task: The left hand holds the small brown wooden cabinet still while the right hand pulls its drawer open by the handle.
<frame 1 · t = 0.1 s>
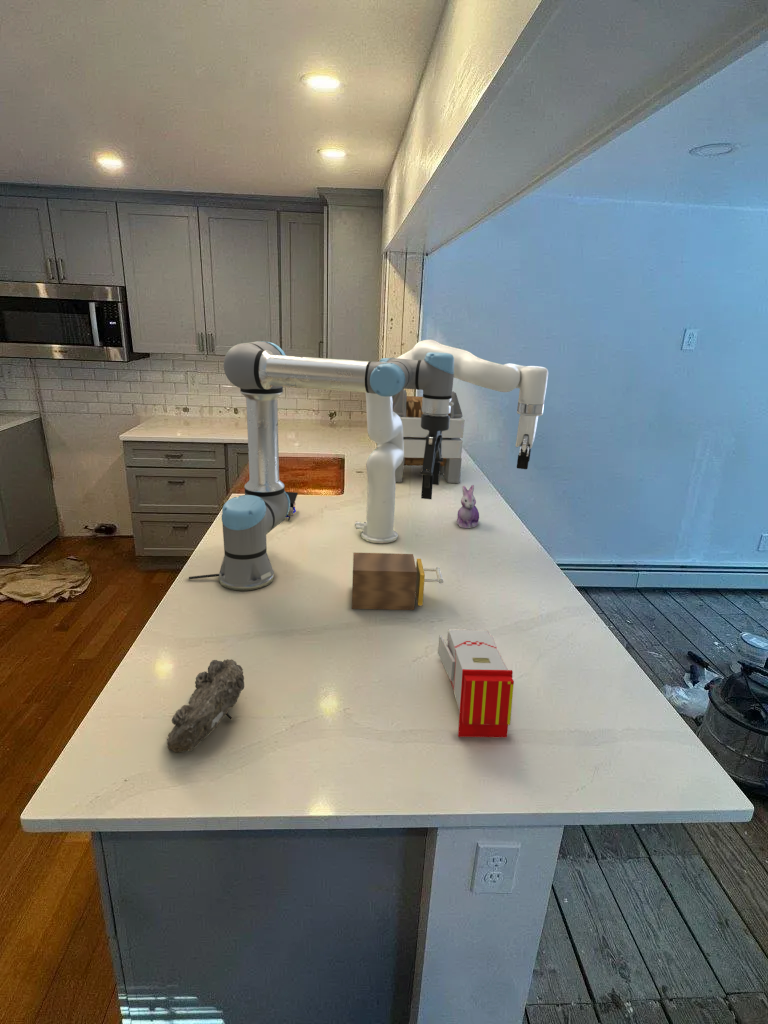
left hand: (430, 491, 156), 28 cm above the counter, tool pointing down, fingers open, 13 cm apart
right hand: (523, 464, 174), 31 cm above the counter, tool pointing down, fingers open, 9 cm apart
cabinet: (382, 599, 155), on the counter
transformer: (419, 473, 275), on the counter
toy: (469, 691, 119), on the counter
fossil: (212, 717, 108), on the counter
figurine character: (287, 516, 212), on the counter
drawer: (403, 581, 153), point 6 cm above the counter, slide at 1.0 cm
figurine: (467, 524, 211), on the counter
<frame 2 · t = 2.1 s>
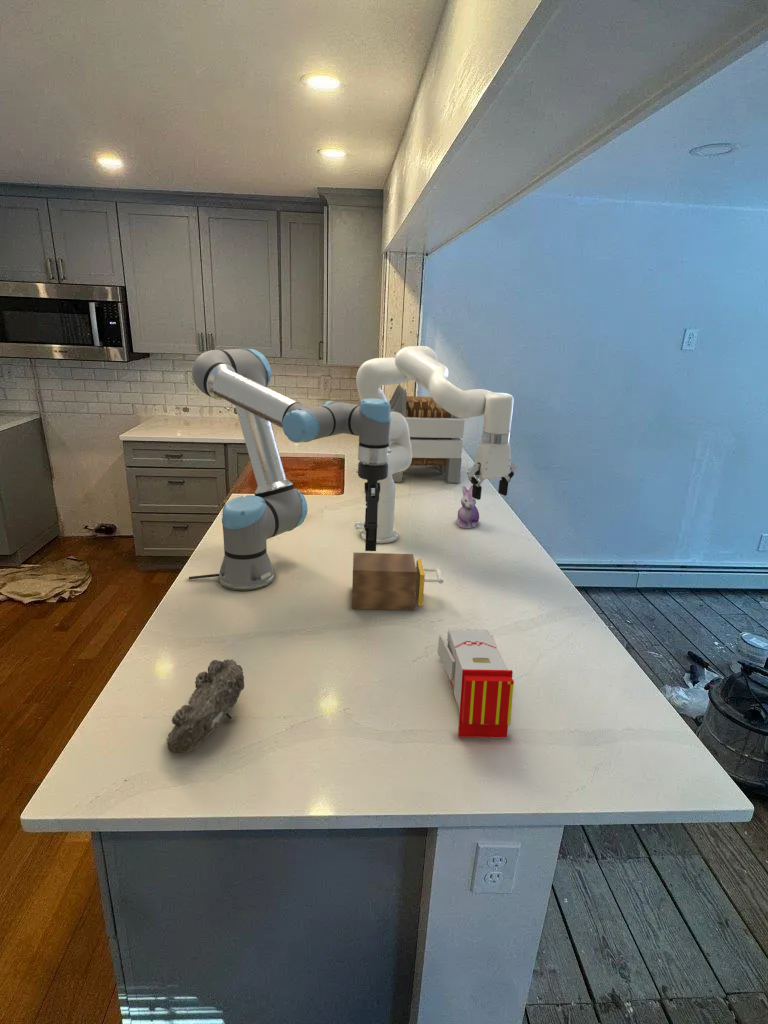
left hand: (370, 540, 149), 17 cm above the counter, tool pointing down, fingers open, 13 cm apart
right hand: (489, 496, 164), 25 cm above the counter, tool pointing down, fingers open, 9 cm apart
nothing on the counter moved.
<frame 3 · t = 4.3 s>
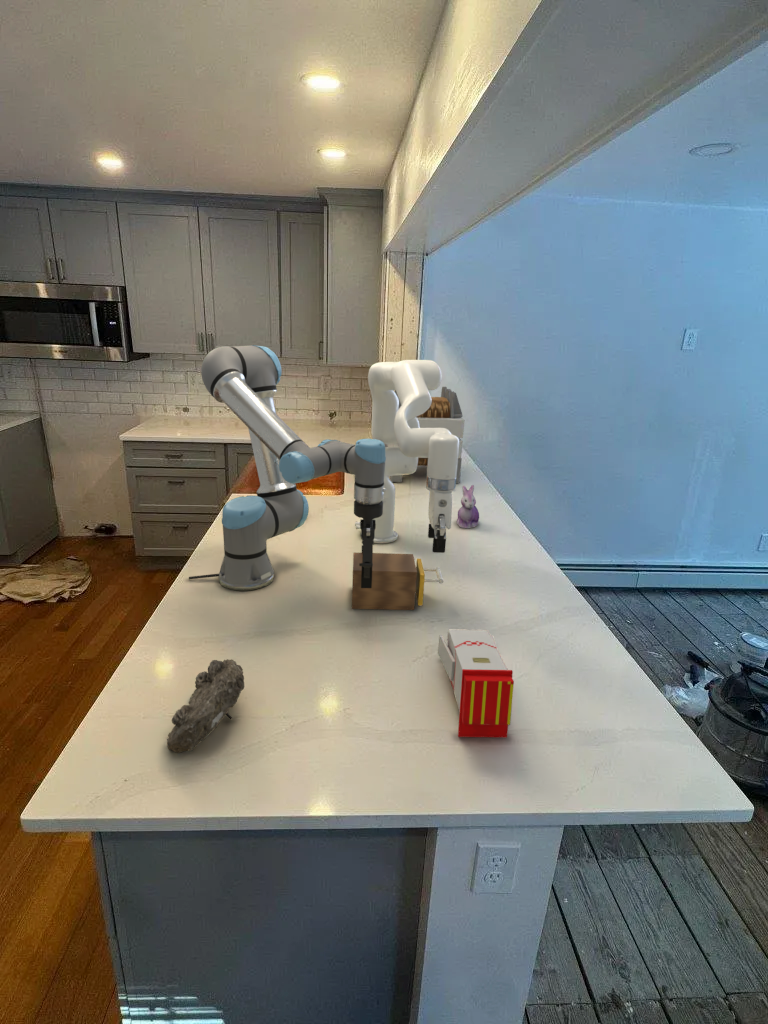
left hand: (366, 577, 152), 7 cm above the counter, tool pointing down, fingers closed on cabinet, 11 cm apart
right hand: (436, 544, 150), 16 cm above the counter, tool pointing down, fingers open, 9 cm apart
cabinet: (382, 599, 155), on the counter, touching left hand
everything else where it was.
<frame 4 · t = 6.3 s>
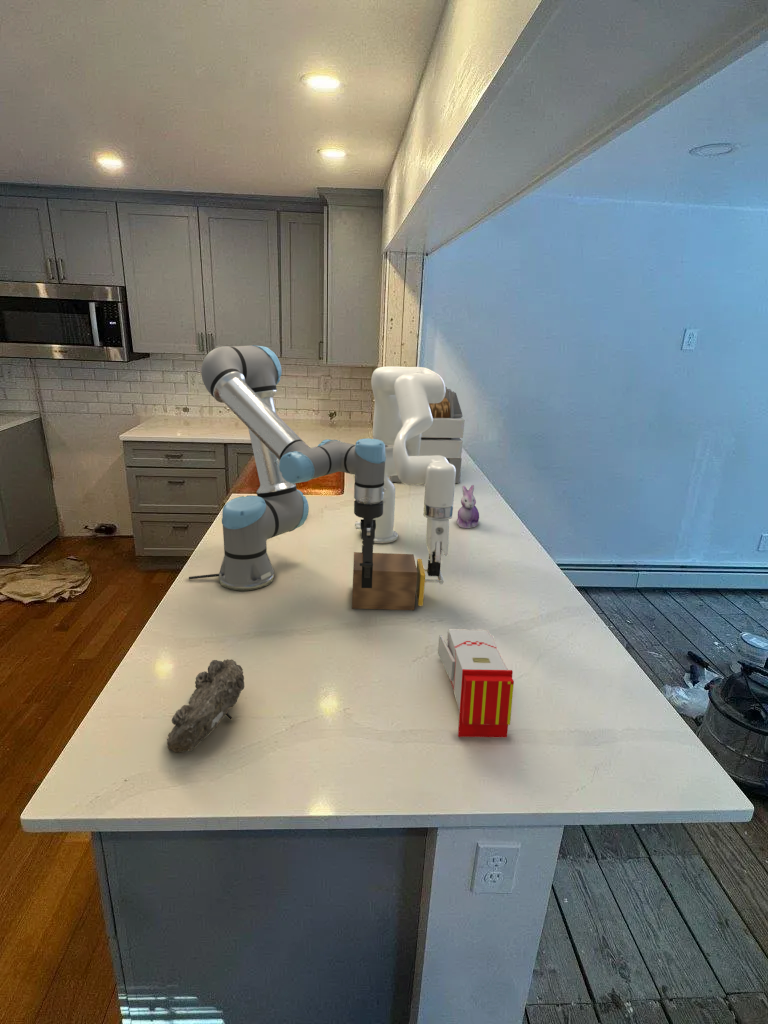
left hand: (366, 577, 152), 7 cm above the counter, tool pointing down, fingers closed on cabinet, 11 cm apart
right hand: (433, 574, 152), 8 cm above the counter, tool pointing down, fingers closed
cabinet: (382, 599, 155), on the counter, touching left hand
drawer: (404, 581, 153), point 6 cm above the counter, slide at 1.1 cm, touching right hand
everything else where it was.
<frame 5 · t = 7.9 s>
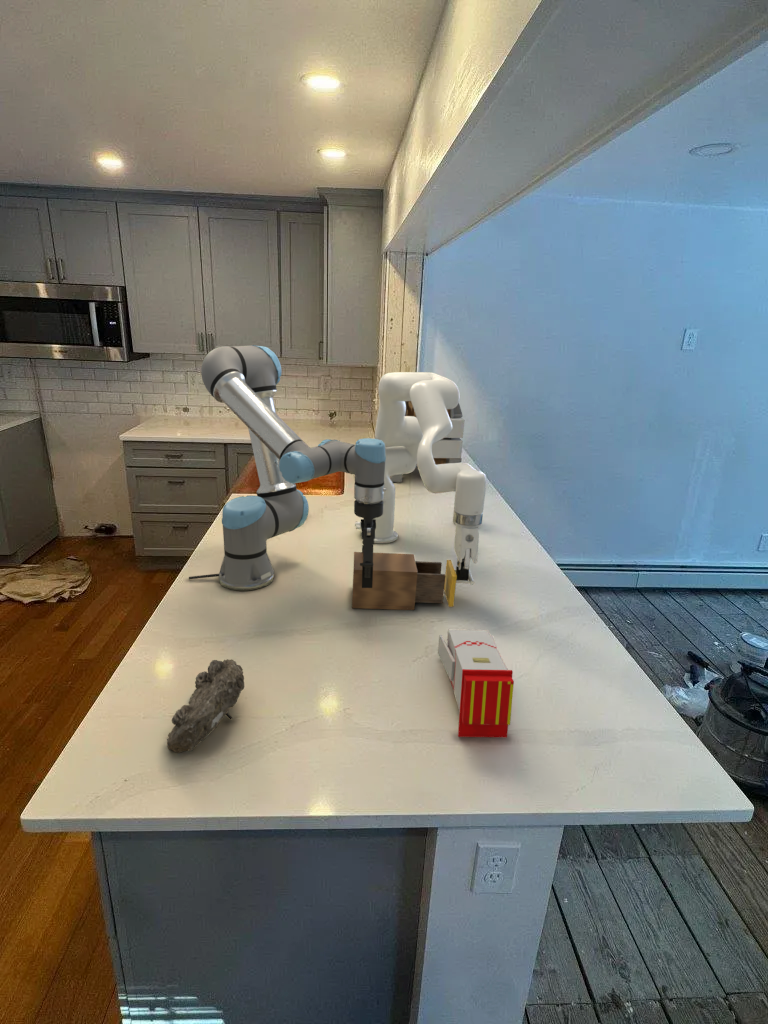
left hand: (366, 576, 152), 7 cm above the counter, tool pointing down, fingers closed on cabinet, 11 cm apart
right hand: (461, 580, 153), 6 cm above the counter, tool pointing down, fingers closed
cabinet: (382, 598, 155), on the counter, touching left hand
drawer: (434, 582, 153), point 5 cm above the counter, slide at 9.2 cm, touching right hand
everything else where it was.
when the left hand's fingers open (7 cm above the counter, at t = 9.6 s): cabinet stays where it is, on the counter.
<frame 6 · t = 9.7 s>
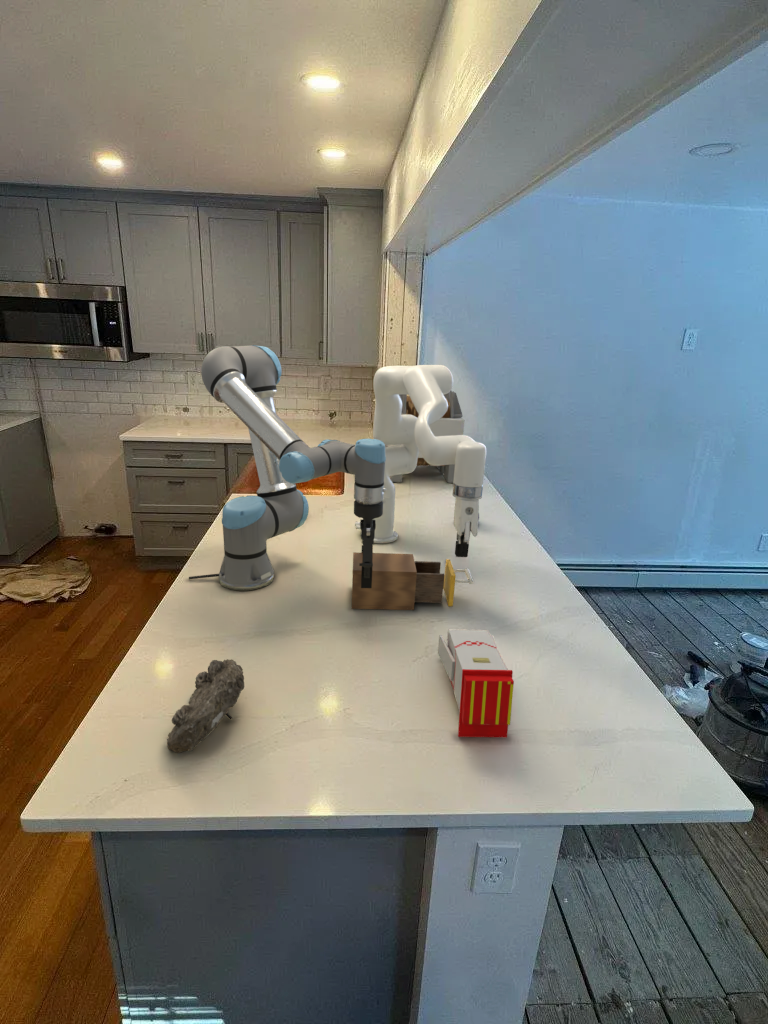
left hand: (366, 577, 152), 7 cm above the counter, tool pointing down, fingers open, 11 cm apart
right hand: (461, 555, 151), 14 cm above the counter, tool pointing down, fingers closed
cabinet: (382, 599, 155), on the counter
drawer: (433, 581, 153), point 6 cm above the counter, slide at 9.1 cm
everything else where it was.
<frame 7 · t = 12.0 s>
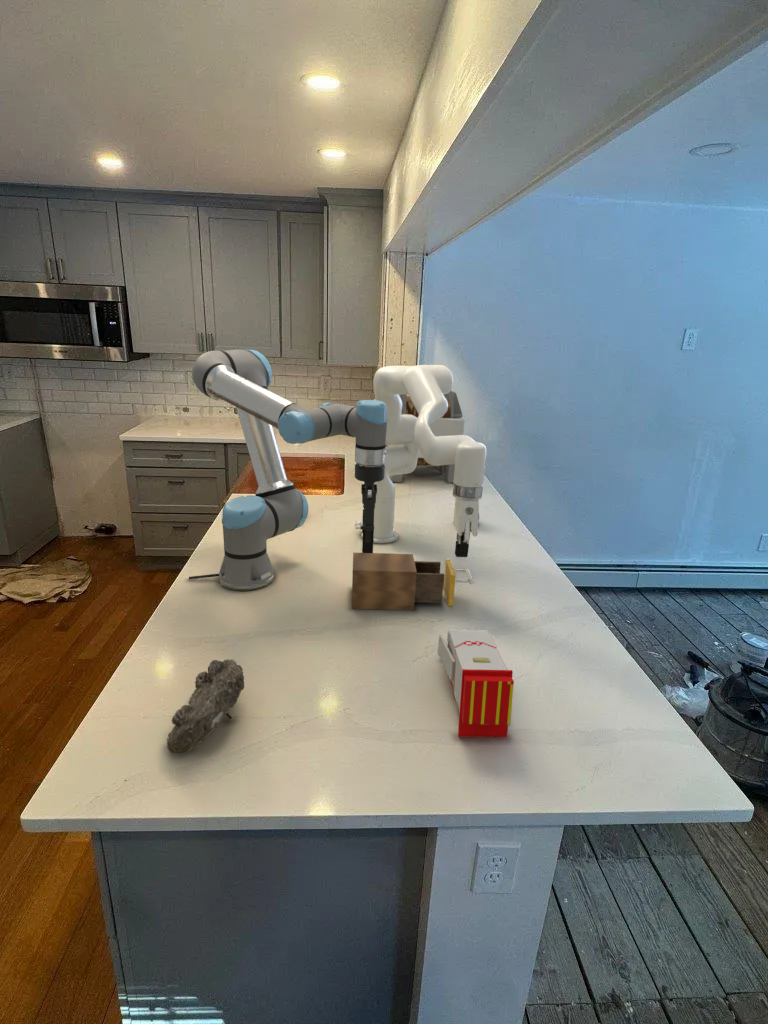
left hand: (367, 542, 149), 17 cm above the counter, tool pointing down, fingers open, 13 cm apart
right hand: (461, 555, 151), 14 cm above the counter, tool pointing down, fingers closed
nothing on the counter moved.
at the end: drawer slide at 9.1 cm; cabinet tilted 0°; cabinet never tilted more than 2° during the clip; cabinet moved 0.1 cm from its start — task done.
